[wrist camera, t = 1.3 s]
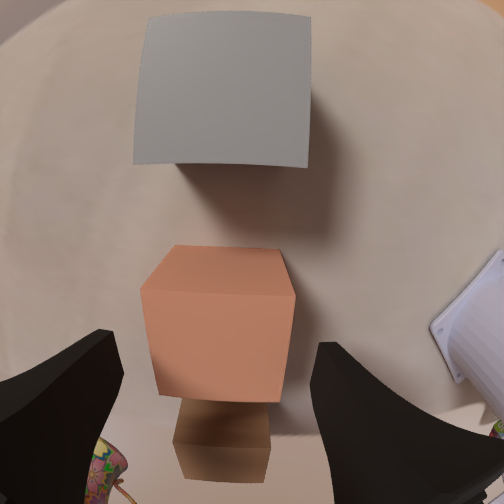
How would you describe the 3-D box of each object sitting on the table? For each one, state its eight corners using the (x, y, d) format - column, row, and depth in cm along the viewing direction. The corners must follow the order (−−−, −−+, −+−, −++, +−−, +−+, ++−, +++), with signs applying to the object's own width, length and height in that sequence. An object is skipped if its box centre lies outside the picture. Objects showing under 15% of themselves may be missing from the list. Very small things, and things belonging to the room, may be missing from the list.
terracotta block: (278, 248, 13) (295, 295, 9) (270, 335, 15) (279, 402, 10) (175, 244, 13) (140, 288, 9) (180, 330, 15) (159, 394, 10)
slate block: (288, 65, 11) (311, 16, 6) (284, 166, 12) (307, 168, 7) (181, 63, 11) (148, 18, 6) (175, 163, 12) (133, 164, 7)
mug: (63, 445, 20) (35, 508, 10) (45, 400, 18) (-1, 478, 7) (158, 481, 21) (144, 555, 11) (161, 447, 19) (139, 547, 9)
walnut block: (265, 384, 16) (271, 448, 11) (260, 427, 18) (263, 482, 13) (186, 380, 16) (172, 442, 11) (193, 424, 18) (184, 478, 13)
